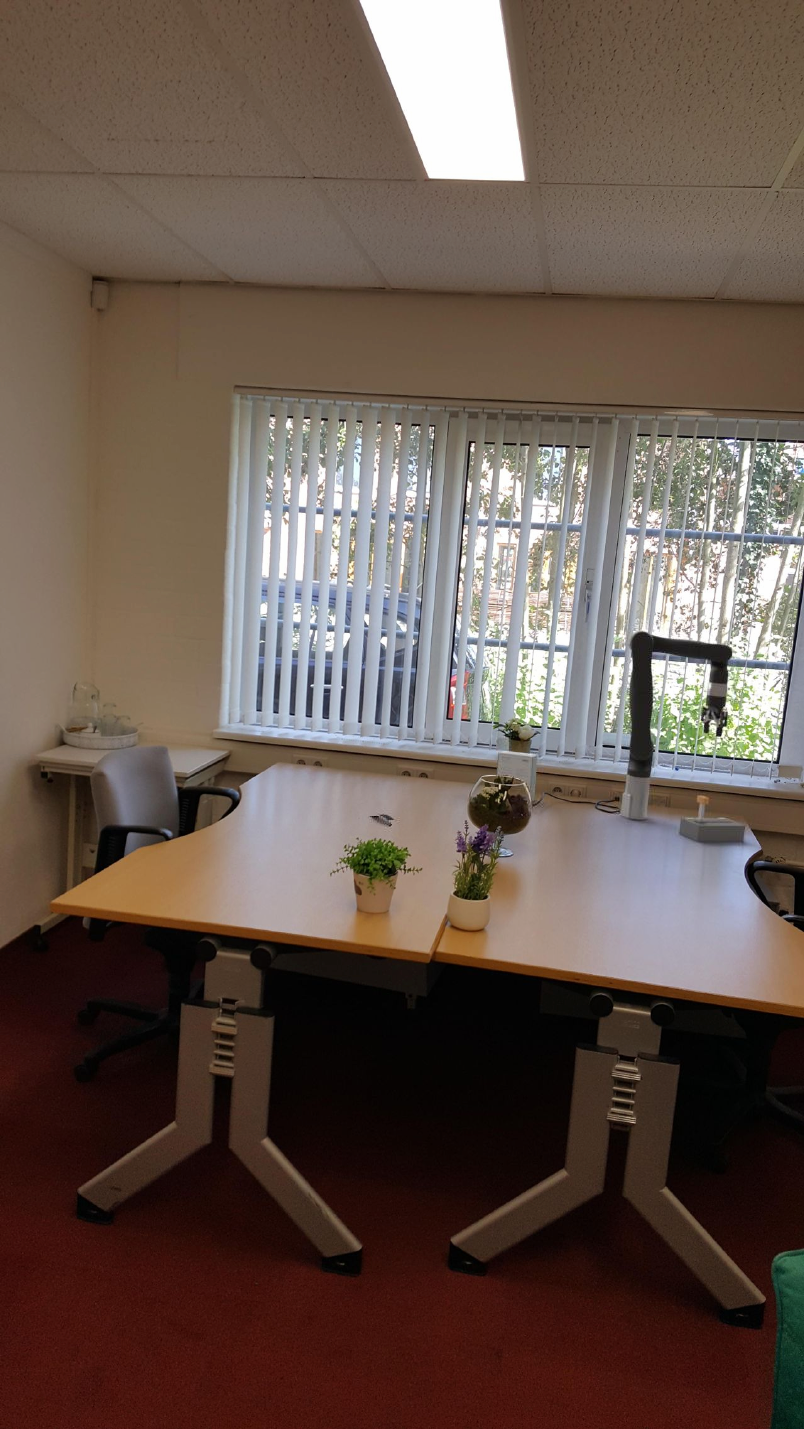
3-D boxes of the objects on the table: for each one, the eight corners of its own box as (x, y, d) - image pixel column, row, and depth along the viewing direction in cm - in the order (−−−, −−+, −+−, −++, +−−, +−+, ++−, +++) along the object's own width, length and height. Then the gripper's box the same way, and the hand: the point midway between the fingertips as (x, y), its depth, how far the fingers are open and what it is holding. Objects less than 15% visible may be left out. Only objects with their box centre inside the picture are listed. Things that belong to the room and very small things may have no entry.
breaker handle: (700, 822, 361) (702, 798, 360) (693, 820, 365) (696, 795, 364) (706, 822, 362) (709, 798, 361) (700, 820, 366) (703, 795, 365)
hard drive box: (534, 801, 408) (538, 754, 406) (529, 804, 401) (533, 757, 399) (499, 795, 415) (503, 749, 412) (493, 798, 408) (497, 752, 405)
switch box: (697, 841, 357) (698, 825, 356) (679, 833, 369) (680, 817, 368) (743, 841, 363) (745, 825, 362) (724, 833, 374) (726, 817, 374)
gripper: (735, 697, 376) (731, 738, 378) (714, 692, 390) (709, 732, 392) (719, 696, 374) (714, 737, 376) (698, 691, 388) (693, 731, 390)
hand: (712, 734), depth 384 cm, fingers open, 8 cm apart
